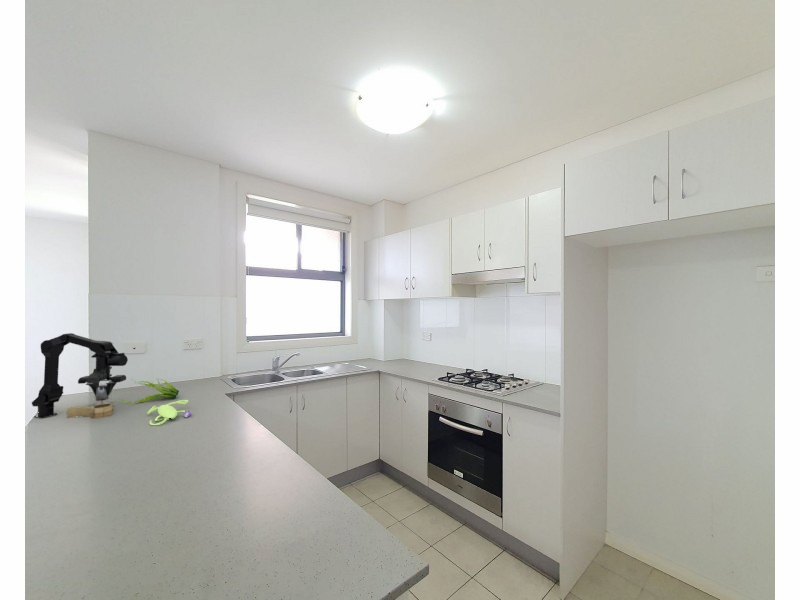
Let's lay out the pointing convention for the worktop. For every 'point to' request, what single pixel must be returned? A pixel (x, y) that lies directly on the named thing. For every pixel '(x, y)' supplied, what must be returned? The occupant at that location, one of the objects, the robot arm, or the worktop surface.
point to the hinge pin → (101, 393)
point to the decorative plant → (167, 394)
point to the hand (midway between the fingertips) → (102, 395)
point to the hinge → (92, 410)
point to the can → (104, 400)
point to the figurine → (168, 411)
